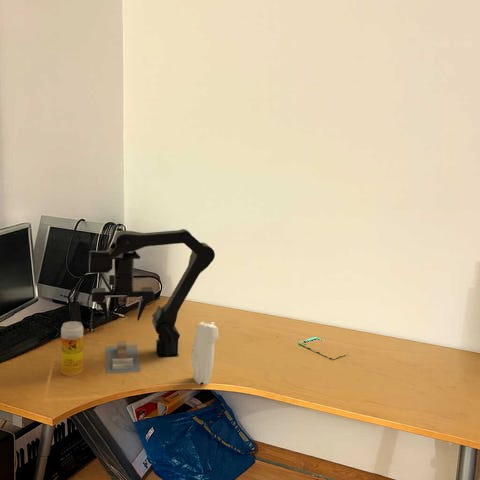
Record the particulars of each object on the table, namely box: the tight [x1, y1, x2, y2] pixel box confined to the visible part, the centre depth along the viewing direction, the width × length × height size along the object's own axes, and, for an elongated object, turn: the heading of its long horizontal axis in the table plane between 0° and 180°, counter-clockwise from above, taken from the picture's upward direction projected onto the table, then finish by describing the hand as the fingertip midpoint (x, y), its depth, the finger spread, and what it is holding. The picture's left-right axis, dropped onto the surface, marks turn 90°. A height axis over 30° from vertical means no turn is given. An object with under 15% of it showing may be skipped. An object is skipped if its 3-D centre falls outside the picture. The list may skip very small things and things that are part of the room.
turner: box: [112, 340, 133, 369], centre depth 156 cm, size 15×6×3 cm, turn 15°
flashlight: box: [191, 321, 219, 386], centre depth 144 cm, size 7×18×7 cm
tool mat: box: [105, 344, 141, 374], centre depth 156 cm, size 10×20×1 cm, turn 15°
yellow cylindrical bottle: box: [60, 320, 84, 377], centre depth 144 cm, size 6×6×15 cm
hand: (123, 320), depth 156 cm, fingers open, 9 cm apart
